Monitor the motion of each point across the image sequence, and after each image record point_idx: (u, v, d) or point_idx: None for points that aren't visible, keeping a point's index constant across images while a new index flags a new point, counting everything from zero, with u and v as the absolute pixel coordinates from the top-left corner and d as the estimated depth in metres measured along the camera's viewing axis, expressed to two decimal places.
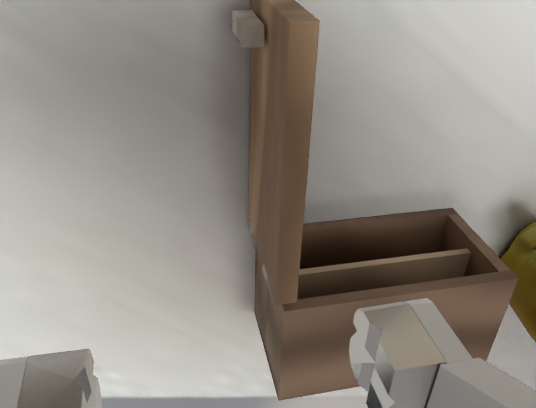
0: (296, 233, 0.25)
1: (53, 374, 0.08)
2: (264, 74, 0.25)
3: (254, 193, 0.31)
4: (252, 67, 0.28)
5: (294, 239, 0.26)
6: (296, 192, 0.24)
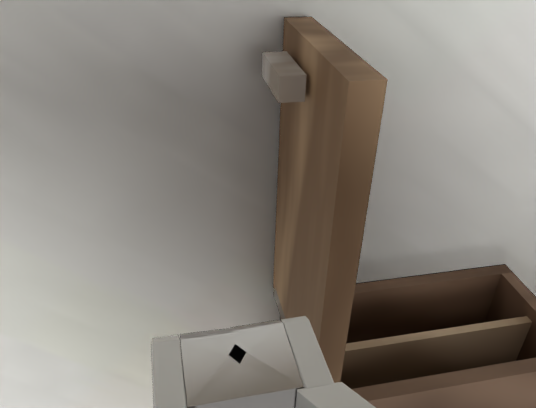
0: (341, 327, 0.21)
1: (208, 350, 0.09)
2: (303, 131, 0.20)
3: (283, 260, 0.26)
4: (284, 116, 0.23)
5: (338, 334, 0.21)
6: (344, 282, 0.19)
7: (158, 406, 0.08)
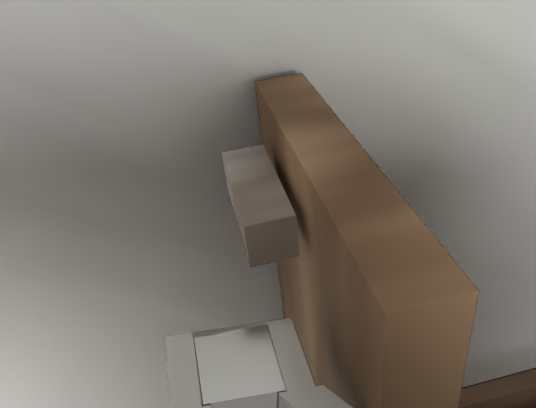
0: None
1: (222, 348, 0.09)
2: (305, 288, 0.11)
3: None
4: None
5: None
6: None
7: (174, 403, 0.08)
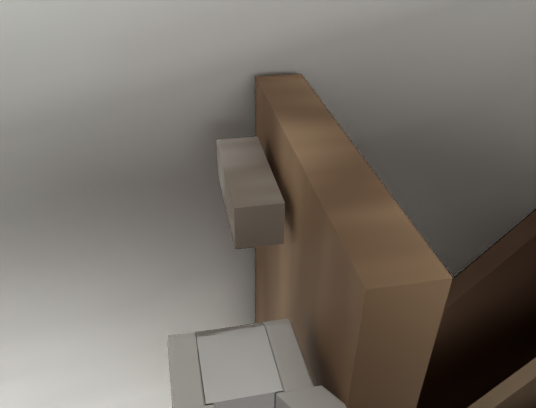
0: None
1: (224, 348, 0.09)
2: (284, 278, 0.12)
3: None
4: None
5: None
6: None
7: (177, 403, 0.08)
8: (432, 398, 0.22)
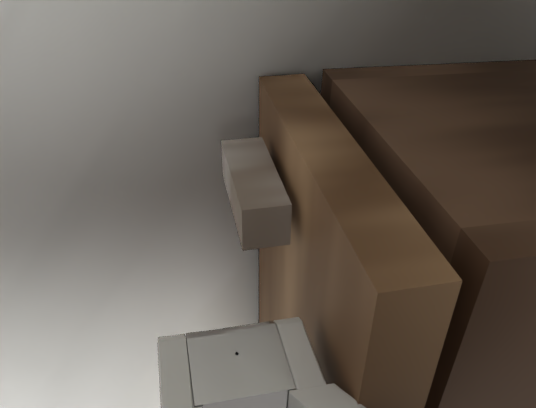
0: None
1: (214, 349, 0.09)
2: (290, 278, 0.12)
3: None
4: None
5: None
6: None
7: (165, 405, 0.08)
8: None
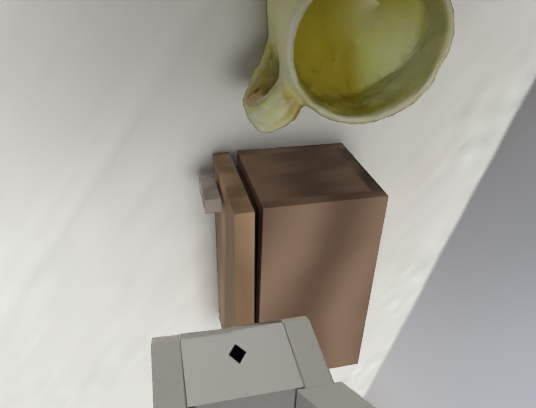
0: None
1: (208, 350, 0.09)
2: (223, 225, 0.34)
3: (221, 297, 0.40)
4: None
5: None
6: (247, 313, 0.33)
7: (158, 406, 0.08)
8: None
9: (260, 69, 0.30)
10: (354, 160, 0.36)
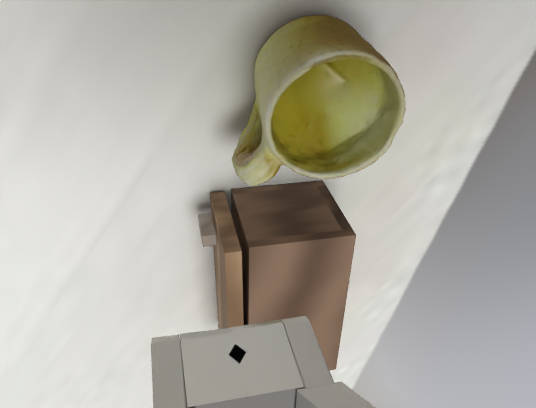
0: None
1: (208, 350, 0.09)
2: (218, 255, 0.41)
3: (219, 310, 0.47)
4: None
5: None
6: None
7: (158, 406, 0.08)
8: None
9: (247, 130, 0.36)
10: (331, 198, 0.42)
